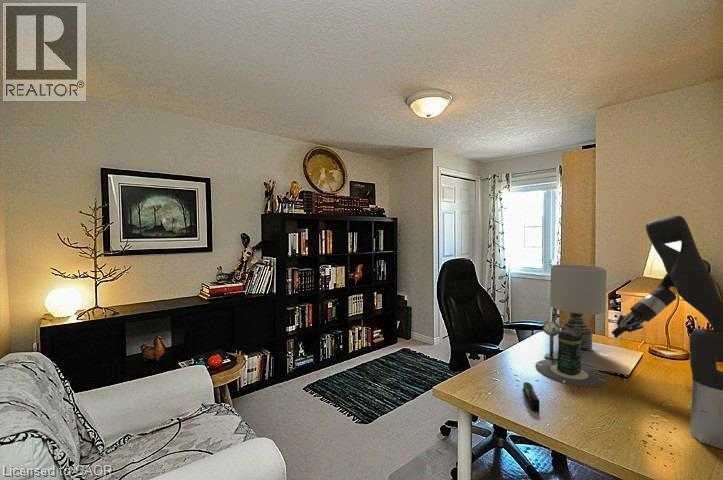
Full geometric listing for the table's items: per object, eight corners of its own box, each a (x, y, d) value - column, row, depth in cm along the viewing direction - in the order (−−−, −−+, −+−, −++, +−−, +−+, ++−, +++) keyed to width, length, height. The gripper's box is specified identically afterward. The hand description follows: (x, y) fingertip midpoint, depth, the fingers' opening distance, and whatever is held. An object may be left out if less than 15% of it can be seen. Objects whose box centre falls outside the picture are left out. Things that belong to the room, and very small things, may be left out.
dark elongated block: (541, 400, 110) (528, 378, 124) (531, 399, 110) (520, 377, 125) (541, 414, 110) (528, 390, 125) (531, 412, 111) (520, 390, 125)
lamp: (594, 360, 151) (596, 272, 149) (541, 345, 171) (542, 267, 169) (611, 348, 165) (613, 267, 164) (561, 335, 185) (562, 263, 183)
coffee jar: (574, 378, 134) (575, 334, 133) (554, 371, 140) (555, 329, 139) (584, 371, 139) (585, 330, 138) (564, 365, 146) (565, 325, 145)
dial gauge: (558, 361, 150) (559, 323, 150) (542, 357, 155) (542, 320, 154) (560, 358, 154) (561, 320, 153) (544, 354, 159) (544, 318, 158)
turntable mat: (603, 394, 121) (603, 393, 121) (528, 373, 139) (528, 373, 139) (608, 370, 141) (608, 369, 141) (542, 355, 158) (542, 354, 158)
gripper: (666, 318, 126) (630, 347, 129) (644, 310, 139) (611, 336, 142) (651, 304, 127) (616, 333, 130) (630, 298, 140) (598, 323, 143)
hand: (614, 334), depth 136 cm, fingers closed
